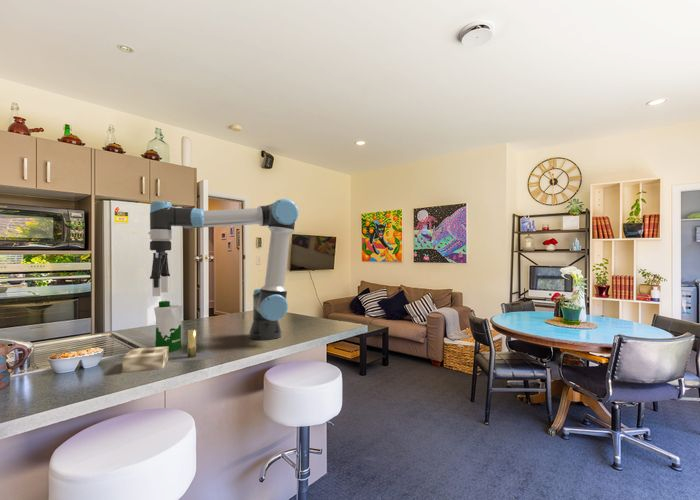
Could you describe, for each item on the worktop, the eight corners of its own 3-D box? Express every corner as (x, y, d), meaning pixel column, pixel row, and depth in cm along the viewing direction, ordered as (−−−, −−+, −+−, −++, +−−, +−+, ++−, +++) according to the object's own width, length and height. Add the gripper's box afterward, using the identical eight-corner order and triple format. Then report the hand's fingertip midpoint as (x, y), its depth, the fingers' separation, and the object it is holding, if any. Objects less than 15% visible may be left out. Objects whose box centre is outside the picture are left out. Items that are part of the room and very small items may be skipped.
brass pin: (196, 355, 137) (196, 329, 137) (195, 357, 134) (195, 331, 134) (187, 355, 136) (188, 329, 136) (187, 358, 133) (187, 331, 133)
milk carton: (166, 347, 150) (166, 300, 150) (185, 348, 148) (185, 300, 149) (150, 352, 142) (151, 302, 142) (170, 354, 140) (171, 303, 140)
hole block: (168, 359, 133) (168, 346, 133) (162, 369, 121) (162, 355, 121) (131, 362, 129) (132, 348, 129) (122, 373, 117) (122, 358, 118)
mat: (212, 352, 142) (212, 351, 142) (210, 359, 133) (210, 358, 133) (173, 355, 138) (173, 354, 138) (169, 363, 128) (169, 362, 128)
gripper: (157, 241, 151) (157, 291, 151) (141, 239, 127) (141, 298, 127) (176, 241, 153) (176, 290, 153) (164, 239, 129) (164, 297, 129)
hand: (160, 294), depth 140 cm, fingers open, 13 cm apart
